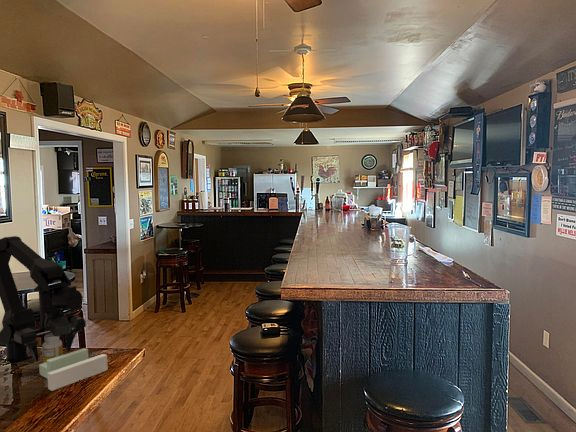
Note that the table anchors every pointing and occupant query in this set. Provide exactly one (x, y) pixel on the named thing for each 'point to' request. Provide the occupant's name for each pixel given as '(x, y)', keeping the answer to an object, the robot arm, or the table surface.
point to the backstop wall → (77, 372)
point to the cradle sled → (63, 361)
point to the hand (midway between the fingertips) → (52, 356)
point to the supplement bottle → (51, 347)
